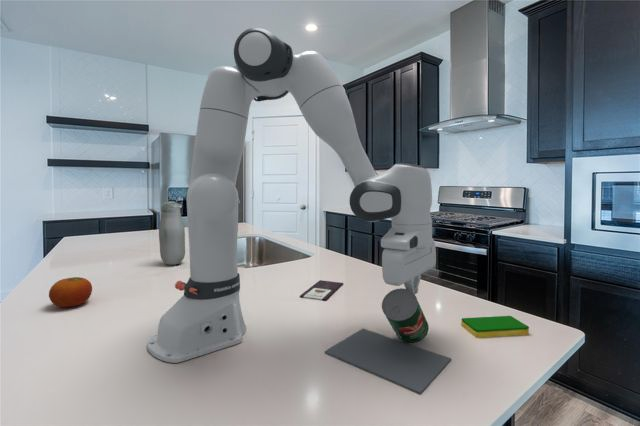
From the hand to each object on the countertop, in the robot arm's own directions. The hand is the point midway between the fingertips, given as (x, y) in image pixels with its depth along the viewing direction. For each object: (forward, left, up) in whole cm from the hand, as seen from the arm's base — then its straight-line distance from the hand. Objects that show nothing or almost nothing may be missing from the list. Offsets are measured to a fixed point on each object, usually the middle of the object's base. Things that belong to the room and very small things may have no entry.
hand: (412, 294), depth 79 cm
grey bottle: (-2, +112, -11) cm, 112 cm away
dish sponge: (+19, -13, -12) cm, 26 cm away
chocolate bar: (+14, +39, -12) cm, 43 cm away
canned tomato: (+1, 0, -9) cm, 9 cm away
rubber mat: (-10, +1, -11) cm, 15 cm away
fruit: (-45, +88, -12) cm, 99 cm away
